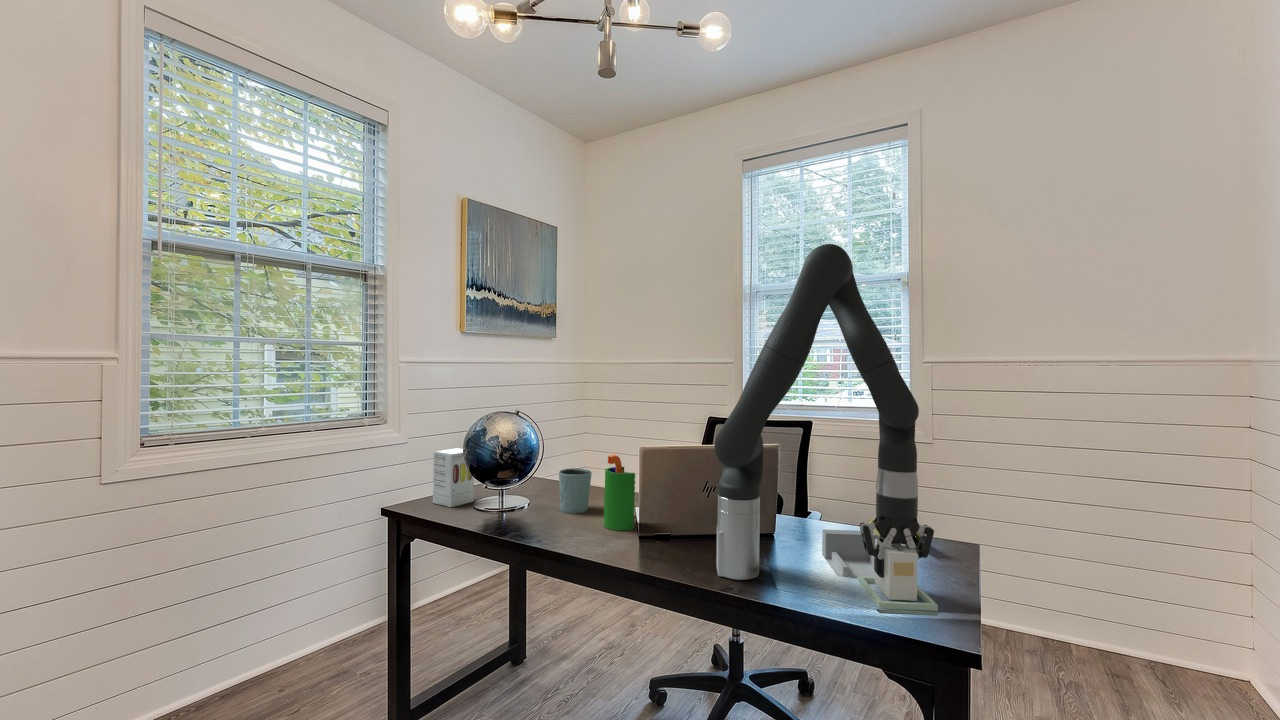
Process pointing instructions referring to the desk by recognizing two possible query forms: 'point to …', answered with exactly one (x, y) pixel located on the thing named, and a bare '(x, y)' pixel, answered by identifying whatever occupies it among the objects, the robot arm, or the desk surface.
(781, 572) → the desk surface
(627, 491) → the motor
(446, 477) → the supplement box
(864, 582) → the tray
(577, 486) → the pale teal cup
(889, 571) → the labeled white box
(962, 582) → the desk surface
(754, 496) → the robot arm
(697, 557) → the desk surface
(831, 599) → the desk surface
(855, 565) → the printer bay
